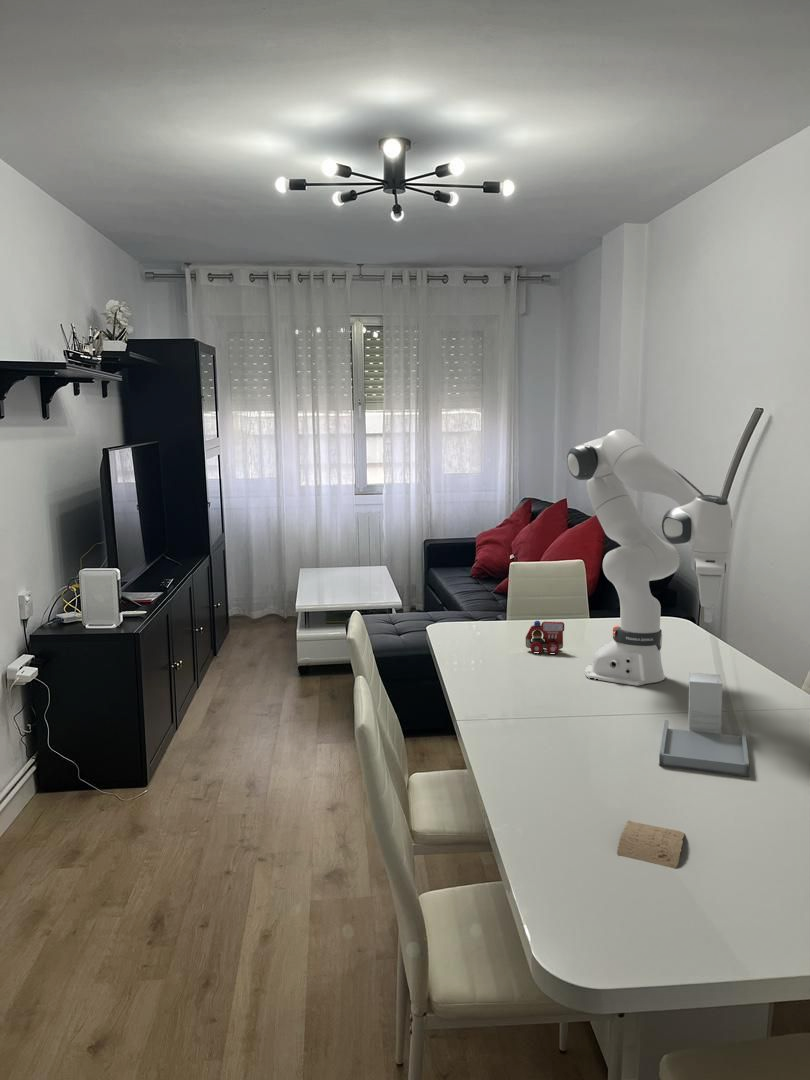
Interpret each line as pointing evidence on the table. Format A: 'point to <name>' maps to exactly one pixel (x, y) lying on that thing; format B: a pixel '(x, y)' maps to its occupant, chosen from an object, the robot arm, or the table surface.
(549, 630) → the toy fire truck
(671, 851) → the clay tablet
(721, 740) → the tray
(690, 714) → the supplement box
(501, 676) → the table surface
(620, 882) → the table surface
